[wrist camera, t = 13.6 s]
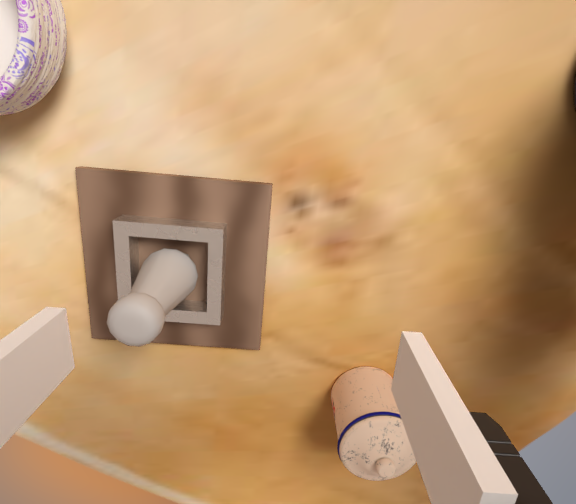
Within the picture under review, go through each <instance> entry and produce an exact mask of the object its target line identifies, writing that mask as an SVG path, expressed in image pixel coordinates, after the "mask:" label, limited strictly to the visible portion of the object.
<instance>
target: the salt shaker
mask: <svg viewBox="0 0 576 504" xmlns="http://www.w3.org/2000/svg"><path fill="white" fill-rule="evenodd" d="M197 278H198V274H197V270H196V265H195V264H194V262H193V261H192V260H191V259H190V257H189V255H188V254H186V253H183V252H181V251H179V250H177V249H166V248H164V249H161V250H159V251H156V252H154V253H152V254H150V256H149V257H148V258H147V259H146V260H145V261H144V262H143V264H142V266H141V269H140V271H139V273H138V275H137V278H136V280H135V282H134V285H133V287H132V289H131V291H130V294H128V295H126V296H123V297H121V298H120V299H119V300H118V301H117V302H116V303H115V304H114V305H113V306H112V307H111V309H110V311H109V313H108V318H107V325H108V328H109V331H110V333H111V334H112V335H113V336H114V337H115V338H116V339H117V340H118V341H120V342H122V343H124V344H126V345H128V346H143V345H146V344H149V343H151V342H152V341H153V340H154V339H155V338H156V337H157V336H158V335H159V333H160V332H161V331H162V329H163V325H164V322H165V316H166V315H167V314H168V313H169V312H170V311H171V310H172V309H174V308H175V307H176V306H177V305H178V304H179V303H180V302H181V301H182V300H184V299H185V298H186V297H187V296H188V295H189V294H190V293H191V292H192V291H193V290H194V288H195V285H196V281H197Z"/></svg>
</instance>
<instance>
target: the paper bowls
mask: <svg viewBox="0 0 576 504" xmlns="http://www.w3.org/2000/svg"><path fill="white" fill-rule="evenodd" d="M66 34H67V31H66V19H65V14H64V10H63V7H62V3H61V1H60V0H0V115H7V114H13V113H17V112H20V111H23V110H25V109H27V108H30V107H31V106H33V105H35V104H36V103H38V102H39V101H40V100H42V99H43V97H44V96H46V95H47V93H48V92H49V91H50V90H51V89H52V87H53V86H54V84H55V83H56V81H57V80H58V78H59V76H60V73H61V70H62V67H63V64H64V60H65V54H66V45H67V43H66Z"/></svg>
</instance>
